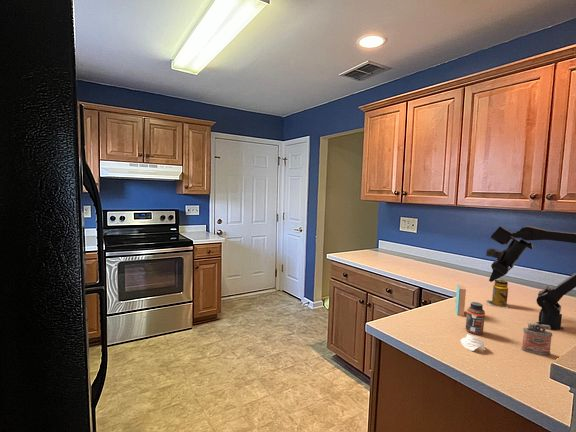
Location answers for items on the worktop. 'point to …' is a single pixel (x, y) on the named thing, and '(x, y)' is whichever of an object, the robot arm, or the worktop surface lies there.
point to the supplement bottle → (475, 318)
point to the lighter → (537, 339)
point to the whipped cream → (472, 342)
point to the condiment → (499, 294)
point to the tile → (460, 300)
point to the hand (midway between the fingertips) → (492, 279)
